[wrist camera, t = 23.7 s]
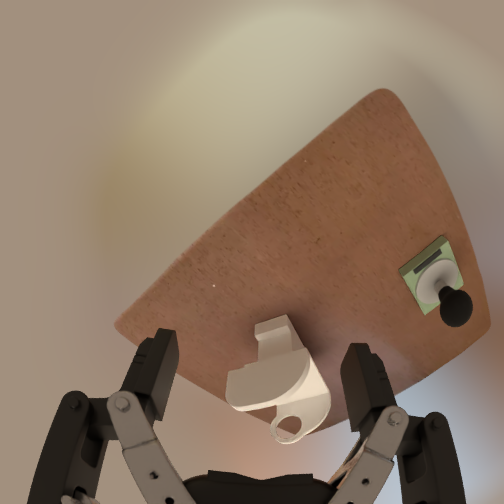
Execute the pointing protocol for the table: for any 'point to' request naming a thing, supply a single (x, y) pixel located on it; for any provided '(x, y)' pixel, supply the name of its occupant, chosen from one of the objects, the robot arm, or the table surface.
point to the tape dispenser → (281, 380)
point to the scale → (431, 273)
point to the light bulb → (453, 304)
